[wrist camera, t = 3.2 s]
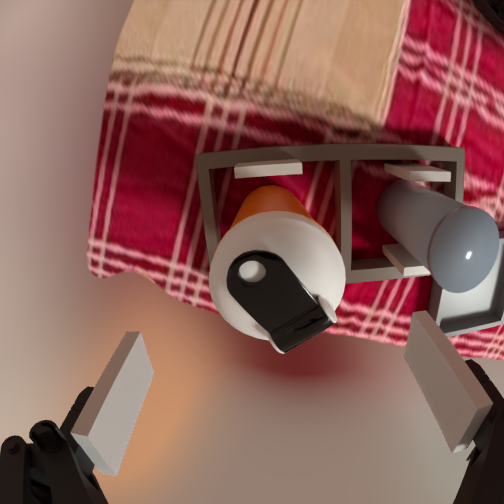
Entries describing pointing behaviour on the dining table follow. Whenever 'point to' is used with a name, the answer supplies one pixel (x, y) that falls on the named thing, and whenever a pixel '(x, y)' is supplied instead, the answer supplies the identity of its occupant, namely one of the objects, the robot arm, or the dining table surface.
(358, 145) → the rack
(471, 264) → the canister
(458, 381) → the robot arm
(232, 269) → the shaker bottle
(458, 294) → the tray
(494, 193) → the dining table surface
